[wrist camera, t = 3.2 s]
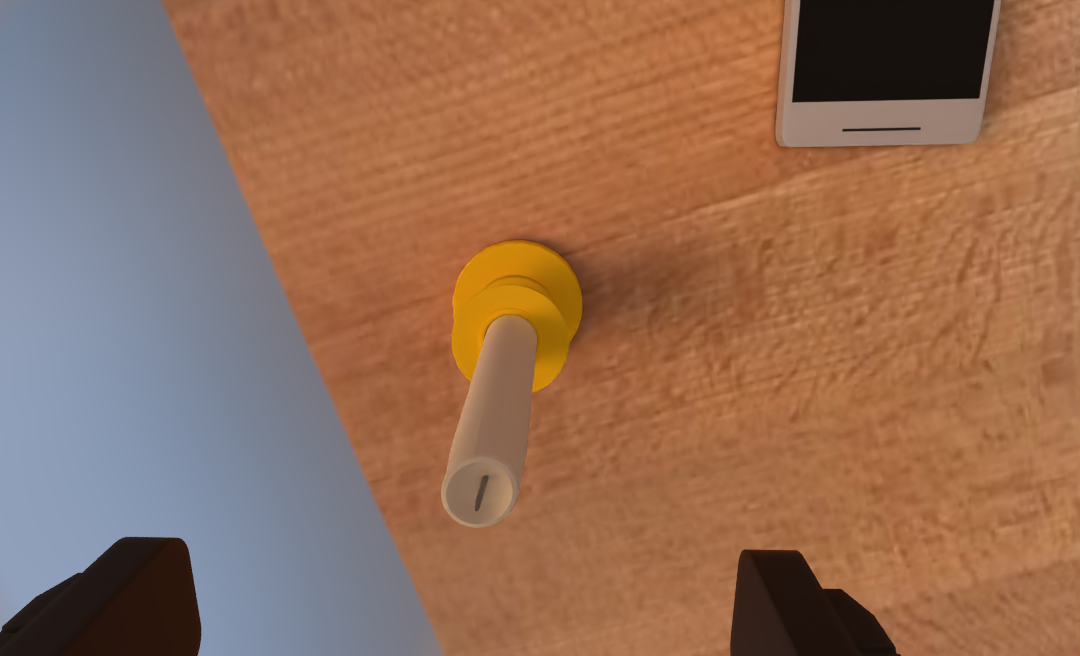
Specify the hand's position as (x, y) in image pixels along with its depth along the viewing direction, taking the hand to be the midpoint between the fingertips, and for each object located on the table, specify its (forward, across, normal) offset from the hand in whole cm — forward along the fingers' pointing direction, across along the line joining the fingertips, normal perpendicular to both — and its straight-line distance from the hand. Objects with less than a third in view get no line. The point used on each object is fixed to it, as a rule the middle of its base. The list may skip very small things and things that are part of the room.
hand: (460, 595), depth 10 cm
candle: (+18, 0, 0) cm, 18 cm away
